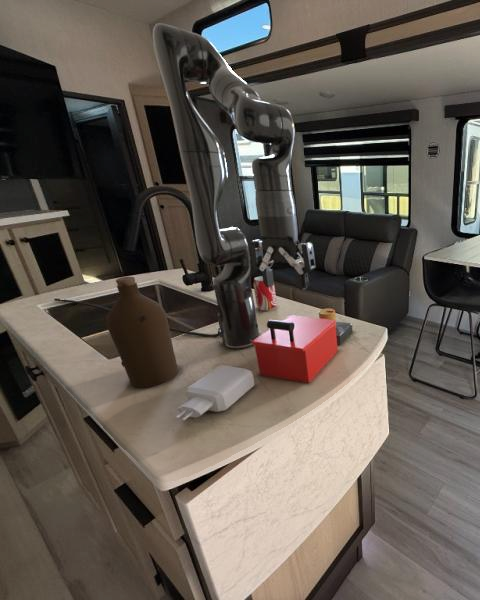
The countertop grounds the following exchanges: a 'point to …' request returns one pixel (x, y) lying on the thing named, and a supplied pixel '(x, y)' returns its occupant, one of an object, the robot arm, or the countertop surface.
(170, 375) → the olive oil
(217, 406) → the charger
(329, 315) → the valve knob
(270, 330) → the red box lid
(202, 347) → the countertop surface
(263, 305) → the soda can
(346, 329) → the panel
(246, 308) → the robot arm
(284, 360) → the red lidded box
